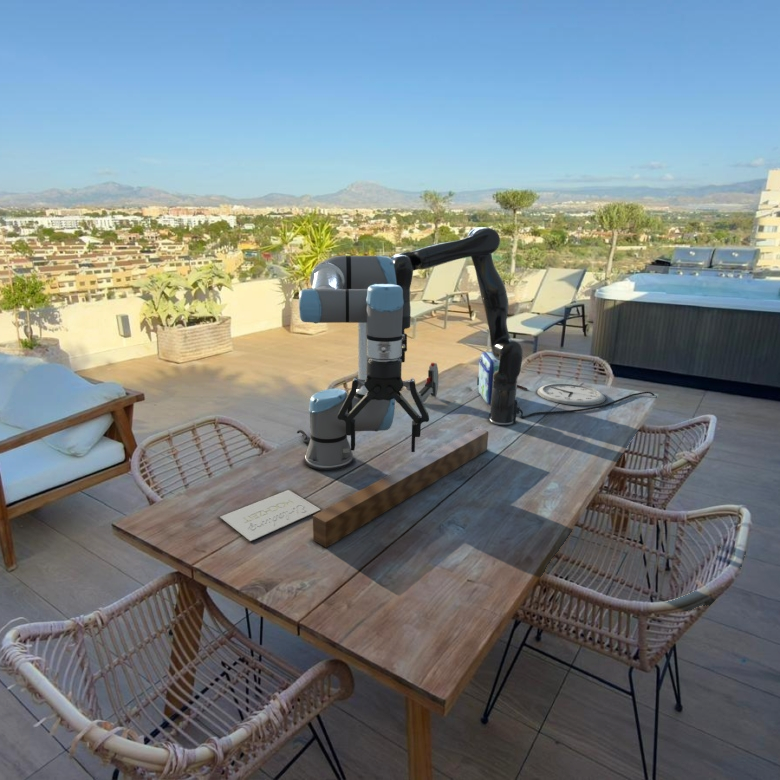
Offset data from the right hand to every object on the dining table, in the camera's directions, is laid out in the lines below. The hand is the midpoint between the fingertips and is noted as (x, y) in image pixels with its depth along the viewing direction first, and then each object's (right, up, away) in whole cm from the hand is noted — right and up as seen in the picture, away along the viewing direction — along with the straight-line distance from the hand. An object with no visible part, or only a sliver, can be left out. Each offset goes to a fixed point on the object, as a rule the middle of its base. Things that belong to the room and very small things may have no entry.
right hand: (399, 359), depth 187 cm
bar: (+4, -40, -33) cm, 52 cm away
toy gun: (+13, -16, +44) cm, 48 cm away
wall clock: (+80, -13, +55) cm, 98 cm away
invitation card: (-35, -44, -49) cm, 74 cm away
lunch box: (+42, -15, +47) cm, 65 cm away
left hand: (-5, -24, -68) cm, 72 cm away
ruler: (+57, -9, +67) cm, 89 cm away
